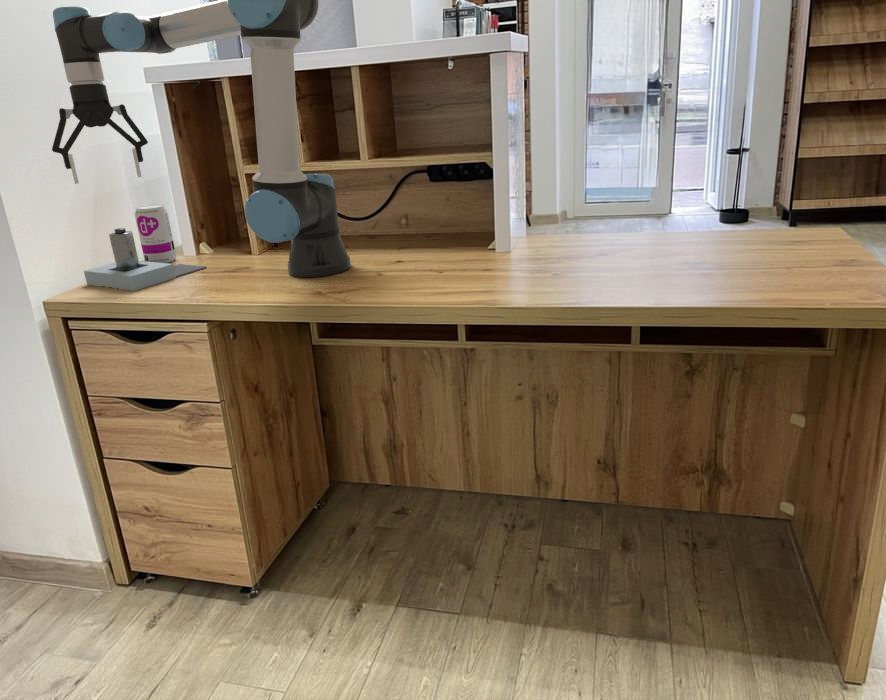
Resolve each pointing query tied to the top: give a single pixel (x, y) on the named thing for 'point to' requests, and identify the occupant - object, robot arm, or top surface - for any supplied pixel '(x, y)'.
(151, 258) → the supplement can
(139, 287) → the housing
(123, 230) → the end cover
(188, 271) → the pad
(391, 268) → the top surface
